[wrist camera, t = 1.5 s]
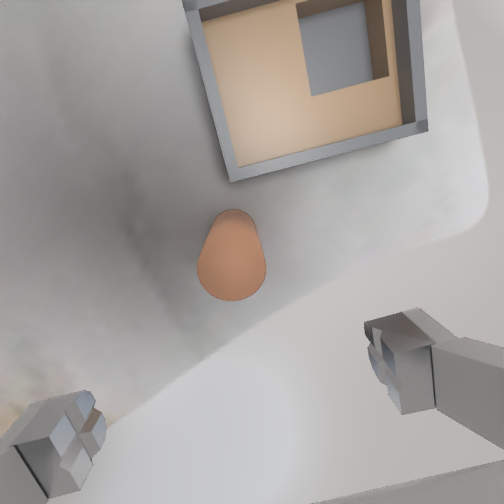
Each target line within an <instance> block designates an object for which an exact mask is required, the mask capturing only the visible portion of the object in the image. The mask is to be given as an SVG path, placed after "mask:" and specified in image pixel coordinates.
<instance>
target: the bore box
mask: <svg viewBox="0 0 504 504" xmlns="http://www.w3.org/2000/svg"><path fill="white" fill-rule="evenodd" d="M182 3H183V7H184V10H185V14H186V18H187V22H188V25H189V29H190V33H191V37H192V41H193V44H194V48H195V52H196V56H197V59H198V63H199V67H200V71H201V75H202V78H203V82H204V86H205V90H206V93H207V97H208V101H209V105H210V109H211V112H212V116H213V120H214V124H215V127H216V131H217V135H218V139H219V143H220V146H221V150H222V154H223V158H224V161H225V165H226V169H227V173H228V176H229V180H230V183H231V182H235V181H239V180H242V179H246V178H250V177H254V176H258V175H262V174H265V173H269V172H273V171H277V170H281V169H285V168H289V167H292V166H296V165H300V164H304V163H308V162H312V161H316V160H319V159H323V158H327V157H331V156H335V155H339V154H343V153H346V152H350V151H354V150H358V149H362V148H366V147H369V146H373V145H377V144H381V143H385V142H389V141H393V140H396V139H400V138H404V137H408V136H412V135H416V134H420V133H423V132H427V131H428V119H427V104H426V90H425V75H424V60H423V45H422V31H421V16H420V1H419V0H182Z"/></svg>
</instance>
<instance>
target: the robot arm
mask: <svg viewBox="0 0 504 504" xmlns="http://www.w3.org/2000/svg"><path fill="white" fill-rule="evenodd" d="M364 330H365V335H366V337H367V338H368V340H369V341H370V345H369V346H368V354H369V359H370V362H371V365H372V368H373V370H374V372H375V374H376V376H377V378H378V379H379V381H380V382H381V383H383V384H385V385H387V388H388V395H389V396H390V398H391V399H392V401H393V402H394V404H395V405H396V407H397V408H398V410H399V411H400V413H401V415H405V414H410V413H414V412H419V411H424V410H429V409H434V408H437V410H438V411H440V412H441V413H443V414H445V415H446V416H448V417H450V418H451V419H453V420H455V421H456V422H458V423H460V424H462V425H463V426H465V427H467V428H468V429H470V430H472V431H473V432H475V433H477V434H479V435H480V436H482V437H484V438H485V439H487V440H488V441H490V442H492V443H493V444H495V445H497V446H498V447H500V448H502V449H504V347H500V346H496V345H493V344H489V343H485V342H481V341H478V340H474V339H470V338H466V337H464V338H458V337H456V336H455V335H454V334H453V333H451V332H450V331H449V330H447V329H446V328H445V327H444V326H442V325H441V324H440V323H439V322H437V321H436V320H435V319H433V318H432V317H431V316H430V315H428V314H427V313H426V312H424V311H423V310H422V309H420V308H413V309H410V310H406V311H403V312H400V313H397V314H393V315H389V316H386V317H382V318H378V319H374V320H370V321H366V322H364ZM95 401H96V400H95V399H94V397H93V395H92V393H91V392H90V391H86V390H83V391H79V392H74V393H70V394H65V395H61V396H56V397H53V398H47V399H43V400H39V401H36V402H34V403H32V404H30V405H29V406H28V408H27V409H26V410H25V411H24V412H23V413H22V414H21V415H20V417H19V418H18V419H17V420H16V421H15V422H14V423H13V425H12V426H11V427H10V428H9V429H8V430H7V431H6V433H5V434H4V435H3V436H2V437H1V438H0V504H46V503H47V502H48V499H50V498H54V497H57V496H61V495H65V494H69V493H73V492H76V491H80V490H81V488H82V486H83V484H84V482H85V480H86V478H87V476H88V474H89V472H90V470H91V468H92V466H93V463H92V457H93V456H94V455H95V454H96V453H97V452H98V451H99V450H100V449H101V447H102V445H103V443H104V441H105V436H106V429H107V427H106V422H105V418H104V416H103V414H102V413H101V412H100V411H98V410H96V409H95V408H94V405H95ZM311 504H504V460H501V461H497V462H492V463H488V464H483V465H479V466H474V467H470V468H466V469H461V470H457V471H452V472H448V473H444V474H439V475H435V476H430V477H426V478H422V479H417V480H413V481H409V482H404V483H400V484H395V485H391V486H386V487H382V488H377V489H373V490H369V491H364V492H360V493H356V494H351V495H347V496H342V497H338V498H334V499H329V500H324V501H320V502H316V503H311Z"/></svg>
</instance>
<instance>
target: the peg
mask: <svg viewBox="0 0 504 504" xmlns="http://www.w3.org/2000/svg"><path fill="white" fill-rule="evenodd" d="M197 274H198V278H199V280H200V283H201V284H202V286H203V287H204V289H205V290H206V291H207V292H208V293H210V294H211V295H212V296H214V297H216V298H218V299H221V300H226V301H238V300H242V299H245V298H247V297H249V296H251V295H252V294H254V293H255V292H256V291H257V290H258V289H259V288H260V286H261V285H262V283H263V281H264V279H265V275H266V262H265V258H264V255H263V251H262V248H261V244H260V241H259V237H258V234H257V230H256V227H255V224H254V221H253V220H252V218H251V217H250V216H249V215H248V214H247V213H245V212H243V211H240V210H235V209H232V210H227V211H224V212H222V213H221V214H219V215H218V216H217V217H216V219H215V220H214V222H213V224H212V227H211V229H210V232H209V234H208V237H207V239H206V242H205V244H204V246H203V249H202V251H201V254H200V256H199V259H198V263H197Z"/></svg>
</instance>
